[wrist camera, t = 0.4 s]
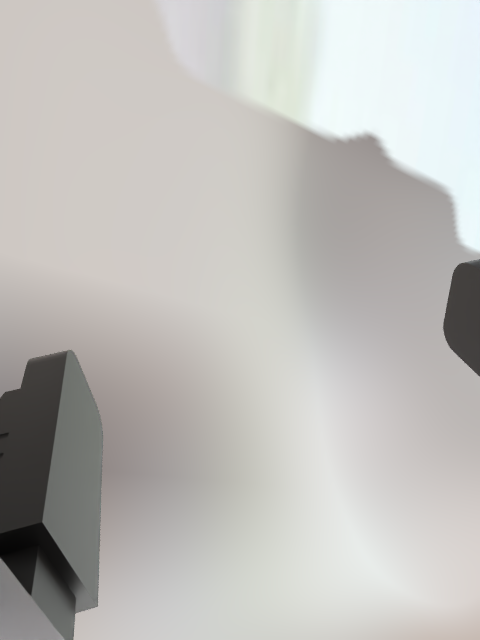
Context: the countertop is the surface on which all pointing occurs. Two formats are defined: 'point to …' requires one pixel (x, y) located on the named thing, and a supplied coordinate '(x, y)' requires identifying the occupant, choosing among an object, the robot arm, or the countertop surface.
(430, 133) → the countertop surface
